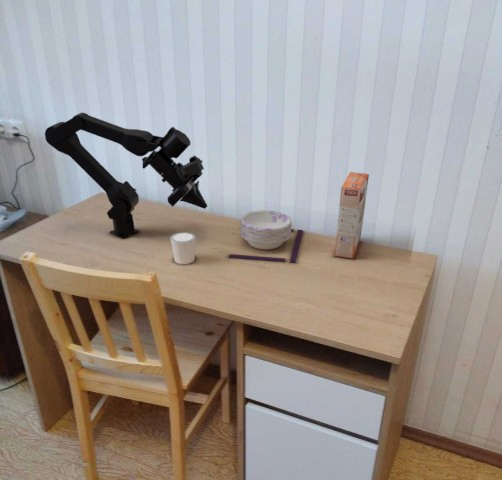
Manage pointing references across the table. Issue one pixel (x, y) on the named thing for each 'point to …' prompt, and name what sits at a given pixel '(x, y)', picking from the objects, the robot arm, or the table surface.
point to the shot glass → (183, 247)
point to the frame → (292, 260)
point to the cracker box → (351, 214)
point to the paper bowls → (265, 228)
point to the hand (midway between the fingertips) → (206, 207)
